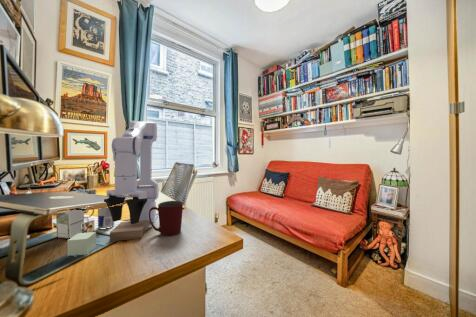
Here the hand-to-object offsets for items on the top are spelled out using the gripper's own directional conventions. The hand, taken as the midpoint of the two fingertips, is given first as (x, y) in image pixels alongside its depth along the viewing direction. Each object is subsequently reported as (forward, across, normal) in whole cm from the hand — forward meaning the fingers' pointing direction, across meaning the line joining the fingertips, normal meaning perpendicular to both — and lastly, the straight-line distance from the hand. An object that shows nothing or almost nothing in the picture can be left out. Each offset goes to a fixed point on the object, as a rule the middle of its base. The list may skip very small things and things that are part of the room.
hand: (125, 221), depth 56 cm
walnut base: (+9, -12, +11) cm, 19 cm away
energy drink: (+8, -27, +12) cm, 31 cm away
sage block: (+10, -14, -3) cm, 17 cm away
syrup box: (+9, -31, +2) cm, 32 cm away
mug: (+9, 0, +17) cm, 19 cm away
